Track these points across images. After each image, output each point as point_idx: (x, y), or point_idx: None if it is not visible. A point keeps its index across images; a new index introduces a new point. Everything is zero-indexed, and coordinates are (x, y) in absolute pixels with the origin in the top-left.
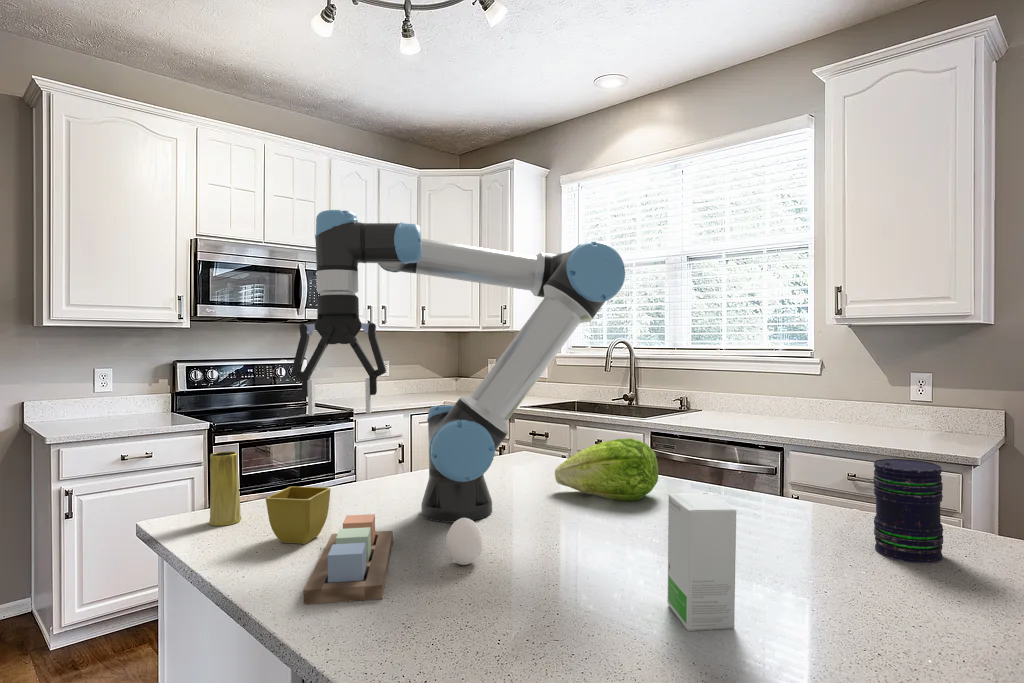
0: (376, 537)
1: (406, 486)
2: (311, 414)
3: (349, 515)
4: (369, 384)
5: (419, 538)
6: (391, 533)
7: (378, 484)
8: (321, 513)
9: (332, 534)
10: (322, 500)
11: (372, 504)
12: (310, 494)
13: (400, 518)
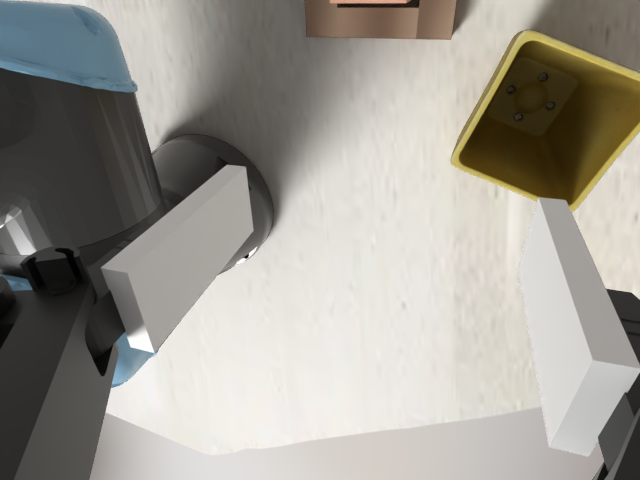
0: (343, 7)
1: (316, 377)
2: (545, 198)
3: (397, 2)
4: (132, 248)
5: (261, 44)
6: (307, 10)
7: (366, 406)
8: (477, 103)
9: (449, 32)
10: (474, 112)
11: (371, 299)
12: (508, 175)
13: (311, 194)
